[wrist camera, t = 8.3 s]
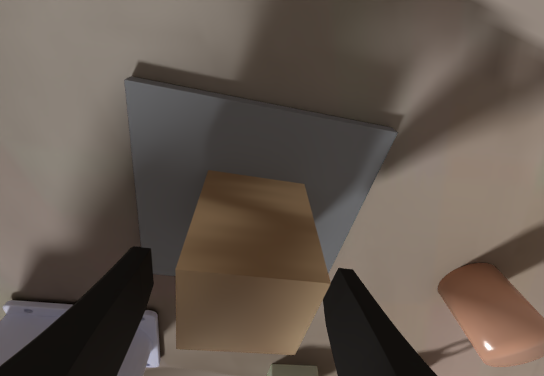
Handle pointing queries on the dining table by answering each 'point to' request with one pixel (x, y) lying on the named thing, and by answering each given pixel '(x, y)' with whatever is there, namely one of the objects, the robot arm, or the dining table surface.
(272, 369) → the sage block
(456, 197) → the dining table surface
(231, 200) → the oak block
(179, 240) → the slate mat
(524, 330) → the terracotta cylinder
